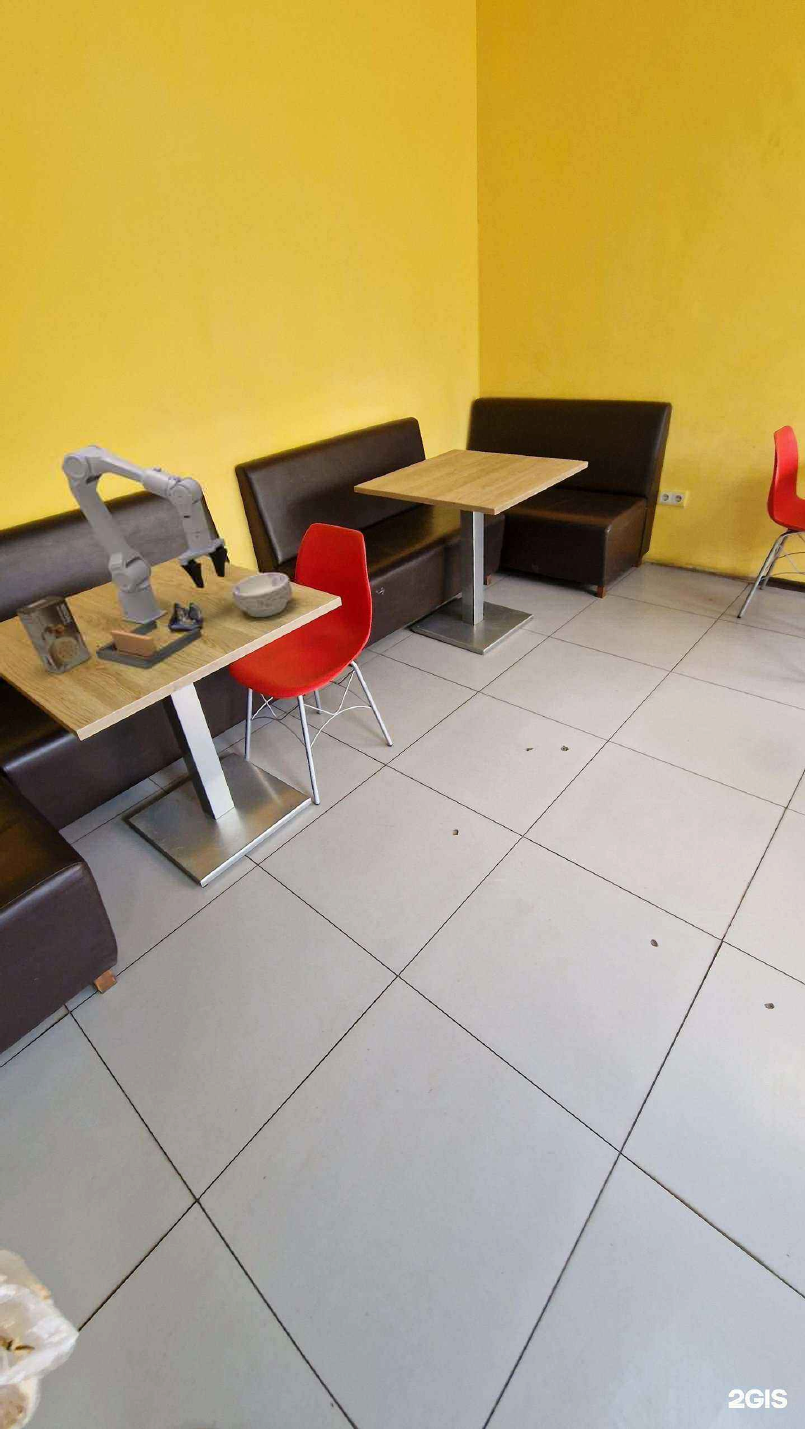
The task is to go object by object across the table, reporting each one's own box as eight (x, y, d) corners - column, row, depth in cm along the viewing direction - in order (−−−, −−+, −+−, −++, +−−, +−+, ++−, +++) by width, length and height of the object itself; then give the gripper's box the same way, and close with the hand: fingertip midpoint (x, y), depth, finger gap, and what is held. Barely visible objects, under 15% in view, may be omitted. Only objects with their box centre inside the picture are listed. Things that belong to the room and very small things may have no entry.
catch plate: (117, 649, 158) (110, 631, 155) (121, 647, 159) (114, 629, 156) (155, 658, 151) (148, 639, 149) (159, 656, 152) (152, 637, 149)
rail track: (98, 657, 156) (95, 650, 155) (153, 626, 168) (151, 619, 167) (147, 669, 147) (144, 662, 146) (202, 635, 160) (199, 628, 159)
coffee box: (77, 653, 159) (50, 594, 150) (92, 657, 156) (66, 597, 147) (44, 670, 153) (14, 609, 144) (59, 675, 150) (30, 613, 141)
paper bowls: (227, 615, 170) (219, 587, 165) (270, 594, 179) (264, 568, 174) (262, 627, 161) (255, 598, 156) (306, 605, 170) (300, 577, 165)
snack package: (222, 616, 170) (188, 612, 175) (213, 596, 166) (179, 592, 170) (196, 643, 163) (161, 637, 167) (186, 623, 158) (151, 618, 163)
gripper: (186, 541, 150) (201, 594, 158) (228, 522, 160) (241, 573, 168) (166, 539, 153) (182, 591, 161) (208, 520, 163) (222, 570, 171)
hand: (211, 581), depth 165 cm, fingers open, 7 cm apart
